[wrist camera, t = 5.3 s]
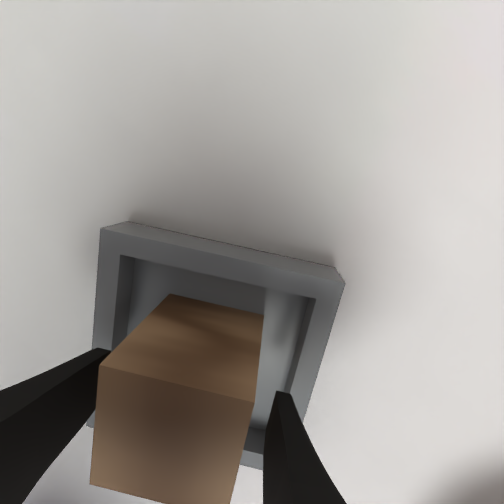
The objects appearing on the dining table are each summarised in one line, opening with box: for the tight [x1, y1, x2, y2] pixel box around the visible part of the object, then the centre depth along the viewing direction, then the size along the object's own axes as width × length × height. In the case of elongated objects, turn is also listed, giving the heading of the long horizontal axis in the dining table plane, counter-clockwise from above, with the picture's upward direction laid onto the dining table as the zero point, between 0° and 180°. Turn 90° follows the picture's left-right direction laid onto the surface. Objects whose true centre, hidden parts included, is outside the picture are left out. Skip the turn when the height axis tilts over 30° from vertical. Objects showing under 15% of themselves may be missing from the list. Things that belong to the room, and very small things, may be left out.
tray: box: [86, 222, 345, 470], centre depth 15 cm, size 11×11×2 cm
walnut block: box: [90, 294, 264, 504], centre depth 12 cm, size 5×5×6 cm
